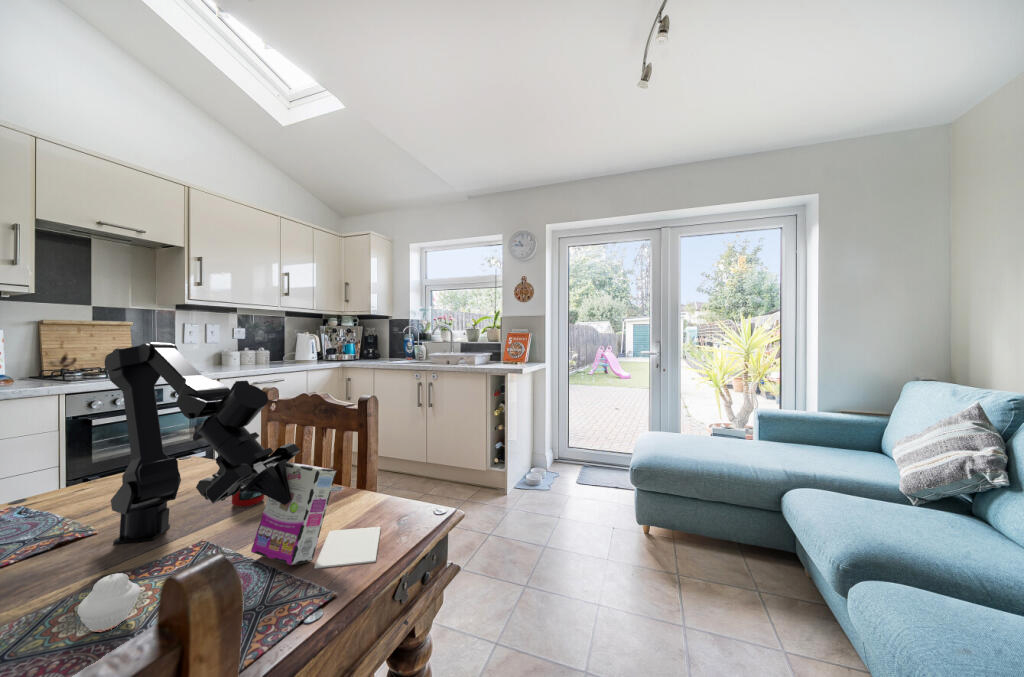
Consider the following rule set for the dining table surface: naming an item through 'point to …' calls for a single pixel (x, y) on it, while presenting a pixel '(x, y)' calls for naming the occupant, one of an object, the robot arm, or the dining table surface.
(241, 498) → the beverage can
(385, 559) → the dining table surface
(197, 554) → the dining table surface
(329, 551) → the mat
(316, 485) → the candy bar box
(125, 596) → the white lumpy blob
